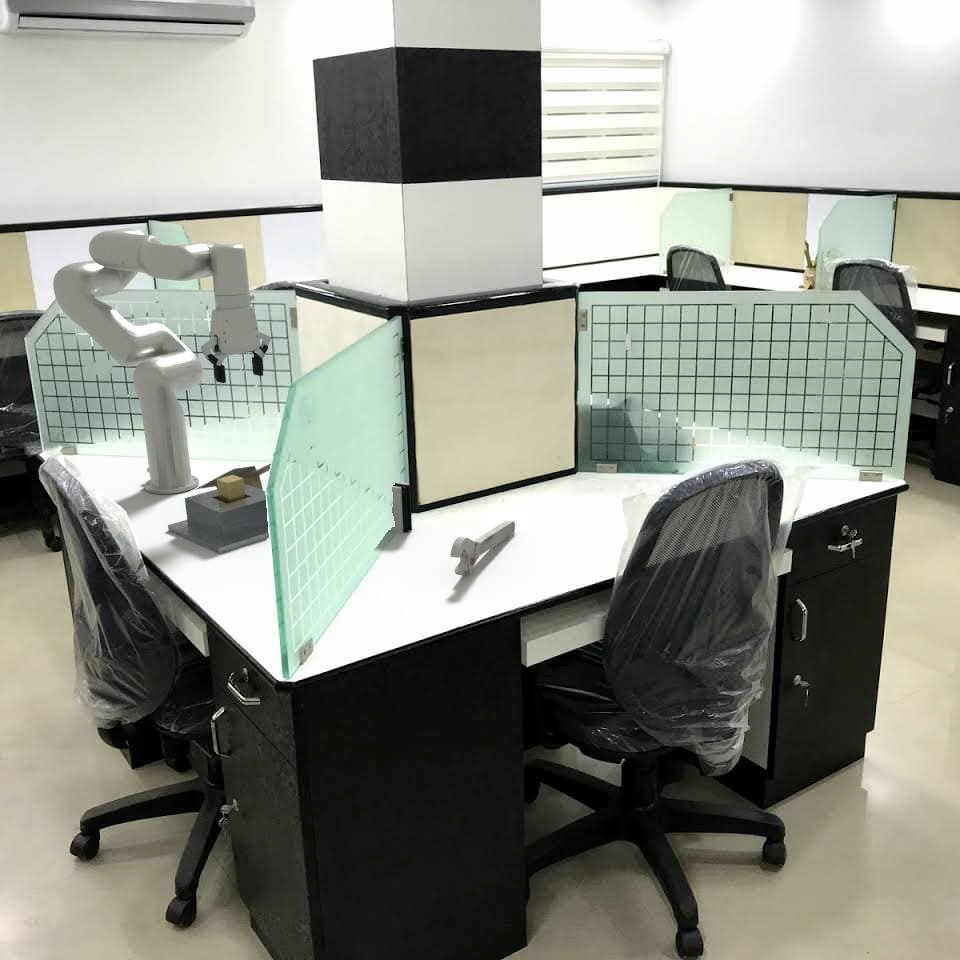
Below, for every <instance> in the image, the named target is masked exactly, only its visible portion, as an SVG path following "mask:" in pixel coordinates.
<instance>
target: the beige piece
mask: <svg viewBox="0 0 960 960" xmlns="http://www.w3.org/2000/svg"><path fill="white" fill-rule="evenodd" d="M271 464H272V463H269V464H266V465H265V466H263V467H260V468H259V469H257V468H256V465H252V466H251V465H250V466H245V467H236V468H233V469H231V470H228V471H227V472H224V473H222V474H221V475H219V476H217V477H216V478H215V477H214V478H213V479H212V480H210V481H208V482H207V483H205V484H203V485H200V486H197V488H195V489H194V491H197V490H199V489H207V488H214V487H216V489H218V488H217V479H219V478H223V477H227V476H231V475H235V476H238V477H241V478H243V479H244V484H247V485H250V486H252V487H255V488H258V489H261V490H263V491H264V489H263V484H262V480H261V475H263V474H265V473H267V472H269V471H270V470H269V469H270V465H271Z"/></svg>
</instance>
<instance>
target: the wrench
mask: <svg viewBox="0 0 960 960" xmlns="http://www.w3.org/2000/svg"><path fill="white" fill-rule="evenodd" d="M515 530H516V523H515V521H513V520H504V521H503V522H501V523H500V524H498V525H497V526H495V527H493V528H492V529H490V530H489V531H487V532H485V533H484V534H482V535H481V536H479V537H477V538H476V539H474V540H472V539H471V538H469V537H465V536H458V537H456V538H455V539H454V542H453V543H452V546H451V550H450V557H451V558H457V559H459V562H458V563H457V565H456V566H455V569H454V574H456V575H458V576H472V574H473V573H472V572H473V569H474V567H475V565H476V563H477V560H478V559H479V558H480V556H482V555H484V554H485V553H486V552H487V551H489V550H491V549H492V548H495V547H496V546H498V544H500V543H502V542H504V541H505V540H506V539H509V538H510V537H511V536H513V534H515Z"/></svg>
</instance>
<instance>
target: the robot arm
mask: <svg viewBox="0 0 960 960" xmlns="http://www.w3.org/2000/svg"><path fill="white" fill-rule="evenodd" d="M88 253H89V255H90V258H91V259H92V260H87V261H78V262H73V263H69V264H67V265H64V266H63V267H61V268H59V269H58V270H57V271H56V273H55V274H54V277H53V281H52V287H53V294H54V296H55V298H56V299H55V300H56V301H57V302H56V303H57V304H58V306H59V307H60V309H61V310H62V311H63V313H64V314H65V315H66V316H67V317H68V318H69V319H70V320H71V321H72V322H74V324H77V326H79V327H80V328H81V329H82V330H84V332H86V333H87V334H88V335H89V336H90V337H91V338H92V339H93V340H94V341H95V342H96V343H97V344H98V346H100V347H101V348H102V349H103V351H105V352H106V353H107V354H108V355H109V356H110V357H111V358H112V359H113V360H114V361H116V362H117V363H118V364H119V365H120V366H123V367H129V368H130V367H135V366H136V367H135V369H134V371H133V374H132V375H133V376H132V383H133V387H134V389H135V392H136V395H137V398H138V401H139V406H140V410H141V417H142V424H143V425H142V426H143V431H144V432H143V433H144V440H145V447H146V455H147V462H148V467H147V468H146V471H147V473H148V474H149V478H150V479H148V480H147V481H146V482H144V490H145V491H146V492H148V493H151V494H157V495H167V494H168V495H169V494H170V495H171V494H178V493H183V492H186V491H187V492H188V491H190V490H192V489H194V488H195V489H196V487H198V486H199V484H200V483H199V478H198V477H197V476H195V475H192V471H191V462H190V453H189V452H190V451H189V442H188V432H187V426H186V424H187V423H186V419H185V413H184V410H183V407H182V405H181V403H180V402H179V401H178V398H177V396H176V395H178V394H179V393H183V392H186V391H189V390H191V389H194V388H196V387H197V386H198V385H200V383H201V382H202V381H203V377H204V370H203V366H202V363H201V361H200V360H199V358H198V357H197V355H196V354H195V353H194V352H193V351H192V350H191V349H190V348H189V347H188V346H186V345H185V343H184V342H183V341H181V339H180V338H178V337H177V335H176V334H174V333H173V332H172V330H170V329H169V328H168V327H167V326H165V325H164V324H162V323H160V322H156V321H153V320H152V321H142V322H137V323H133V322H129V320H127V319H126V318H124V317H123V316H122V314H120V313H119V311H118V310H116V309H115V307H112V306H111V305H109V304H107V303H105V302H104V301H101V300H99V299H98V298H99V297H104V296H111V295H114V294H118V293H119V292H122V291H123V290H124V289H125V288H126V287H127V286H128V285H129V284H130V282H131V281H132V280H133V279H134V278H135V277H136V275H137V274H138V273H144V274H146V275H147V276H149V277H151V278H155V279H158V280H159V279H160V280H170V281H179V282H185V281H187V282H188V281H192V280H196V279H197V280H198V279H203V278H209V277H212V284H213V285H212V286H213V294H214V295H213V296H214V304H215V305H214V306H215V309H212V310H211V318H210V339H209V340H208V341H206V342H205V343H204V344H203V345H201V347H200V350H201V352H202V354H203V355H204V358H205V359H206V360H207V361H209V362H210V364H211V365H212V366H213V374H214V375H213V376H214V379H215V381H216V383H221V384H226V383H227V377H226V366H225V365H224V364H223V363H224V362H225V360H226V357H227V356H233V355H240V354H241V355H242V354H246V353H251V355H252V357H251V366H252V375H254V376H259V377H263V376H264V360H263V359H265V356H266V355H265V354H266V353H267V352H268V349H269V345H270V343H271V339H272V337H271V336H270V335H267V334H265V333H262V332H261V331H260V330H259V325H258V320H257V316H256V313H255V309H254V307H253V306H251V304H252V301H254V300H255V296H254V294H253V293H251V292H250V285H249V273H248V262H247V260H248V259H247V253H246V248H245V247H244V246H243V245H242V244H239V243H222V244H221V243H217V242H212V241H203V242H191V243H184V244H179V245H177V244H176V245H175V244H162V243H161V241H160V240H159V239H158V238H157V237H156V236H154V235H152V234H146V233H145V234H144V232H142V231H140V230H138V229H135V228H122V229H112V230H110V229H109V230H104V231H100V232H99V233H97V234H95V235H94V236H93V237H92V238H91V240H90V242H89V245H88ZM260 341H261V344H260Z"/></svg>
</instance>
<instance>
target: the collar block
mask: <svg viewBox="0 0 960 960" xmlns="http://www.w3.org/2000/svg"><path fill="white" fill-rule="evenodd" d="M244 487H245V499H242V500H238V501H235V502H231V503H228V504H227V503H224V502H222V501H219V497H218V489H217V488H216V489H214V490H210V491H209V490H208V491H206V492H201V493H197V494H195V495H191V496H187V497H184V503H185V504H184V505H185V512H186V519H185V520H182V521H178V522H174V523H170V524H168V525H167V528H168V529H167V530H168V531H169V532H170V533H173V534H176V535H178V536H180V537H182V538H184V539H186V540H188V541H191V542H193V543H195V544H197V545H199V546H201V547H203V548H206V549H208V550H209V551H212V552H214V553H216V554H218V555H220V554H223V553H226V552H229V551H233V550H235V549H239V548H241V547H245V546H249V545H251V544H255V543H257V542H260V541H265V540H267V539H269V533H268V521H267V508H266V495H265V490H264V489H263V490H261V489H258V488H255V487H252V486H250V485H247V484H244Z"/></svg>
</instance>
